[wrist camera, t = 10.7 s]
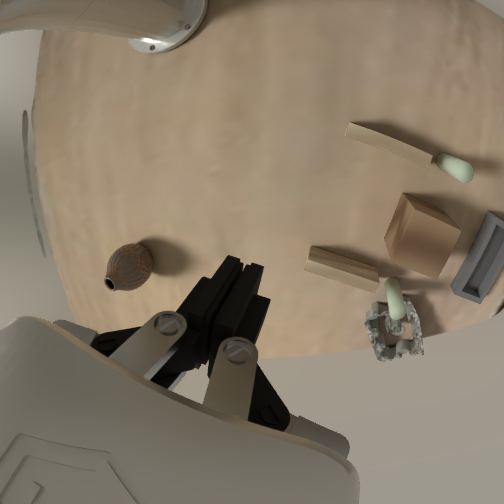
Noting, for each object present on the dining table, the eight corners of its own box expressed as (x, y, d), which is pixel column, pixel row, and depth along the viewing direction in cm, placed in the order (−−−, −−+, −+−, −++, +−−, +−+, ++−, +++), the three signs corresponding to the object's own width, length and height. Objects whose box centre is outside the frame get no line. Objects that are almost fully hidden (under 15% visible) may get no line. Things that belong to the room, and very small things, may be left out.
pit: (488, 210, 23) (495, 216, 21) (512, 226, 22) (519, 232, 20) (450, 285, 29) (454, 294, 27) (475, 295, 28) (480, 304, 27)
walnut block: (402, 192, 27) (415, 209, 22) (443, 211, 26) (461, 230, 21) (384, 237, 30) (391, 262, 25) (423, 253, 29) (436, 279, 24)
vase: (165, 258, 41) (132, 289, 34) (149, 280, 45) (120, 310, 38) (135, 229, 41) (99, 254, 33) (122, 254, 44) (90, 279, 37)
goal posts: (439, 150, 23) (460, 158, 18) (453, 157, 22) (476, 167, 17) (382, 287, 33) (386, 317, 28) (394, 291, 32) (400, 321, 27)
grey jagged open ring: (421, 337, 34) (426, 356, 31) (378, 350, 38) (379, 370, 35) (411, 286, 31) (416, 305, 28) (361, 303, 35) (361, 323, 31)
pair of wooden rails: (347, 122, 25) (349, 122, 22) (422, 151, 24) (432, 155, 21) (307, 255, 34) (304, 270, 31) (372, 277, 32) (374, 293, 29)
